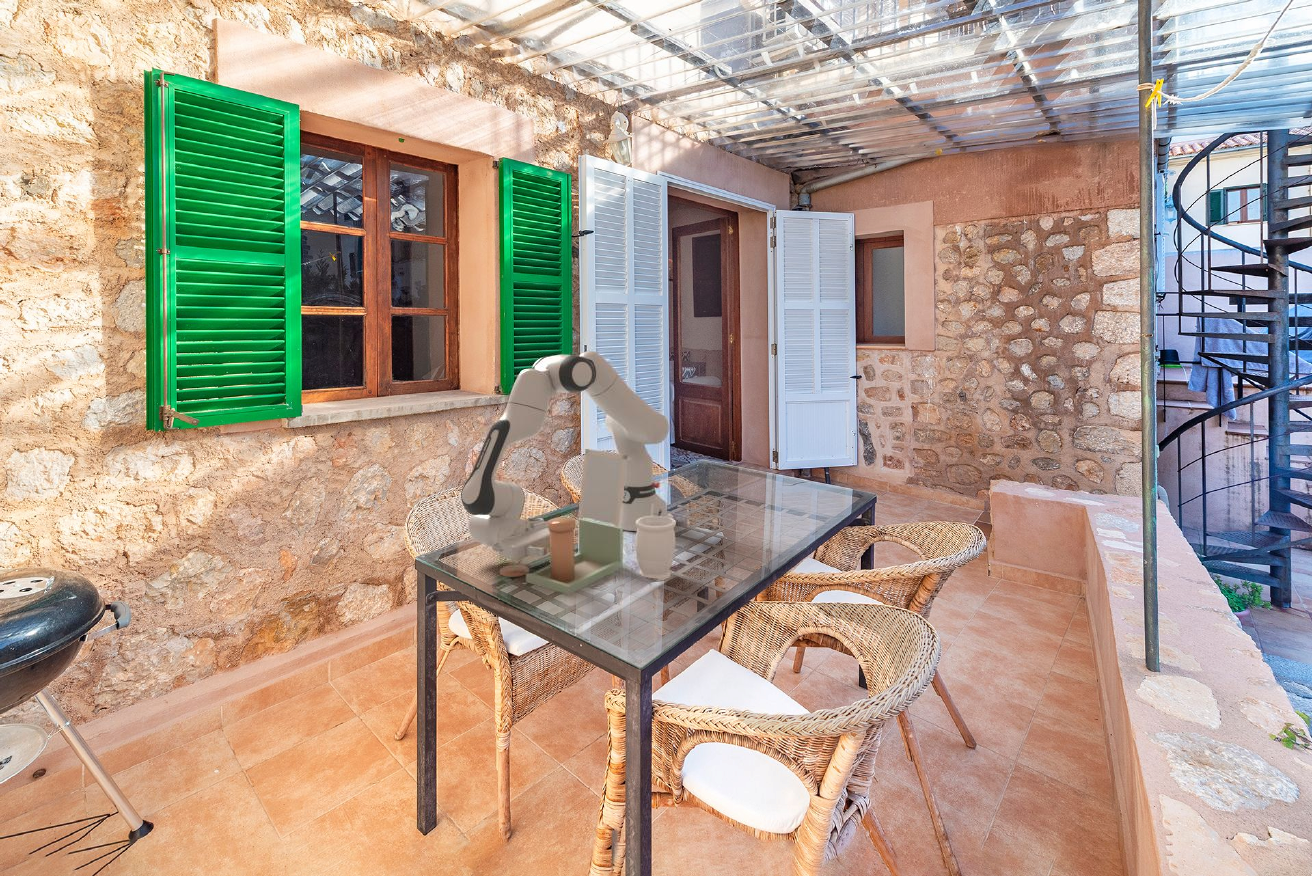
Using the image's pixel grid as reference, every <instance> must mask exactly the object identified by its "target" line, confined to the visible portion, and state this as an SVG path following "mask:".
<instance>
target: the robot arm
mask: <svg viewBox="0 0 1312 876" xmlns="http://www.w3.org/2000/svg"><path fill="white" fill-rule="evenodd" d="M584 391H585V393H587V395H588V396H589V397H590V398H591V400H592V401H593V402H594V403H595V404H596V406H597V407H598V408H599V410H601V411H602V412H603V413H604V414H605V415H606V417H605V422H604V424H605V427H606V430H607V431H608V432H609V434H610V435H611V437H612V441H613V443H614V446H615V450H616V453H617V454H624V455H628V457H627V466H626V475H625V484H624V493H623V502H622V511H621V520H620V527H622V528H623V531H630V532H633V531H634V532H637V529H638V527H637V526H636V520H637V519H639V518H641V517H645V516H665V517H670V518H672V519H674V515H672V514H671V513H668V512H667V510H668V509H667V502H666V501H665V500H664V498H661V496H659V495H658V494H657V493H656V489H660V486H661V484H660V482H658V481H657V482H656V481H653V480H654V478H653V475H654V473H653V472H654V470H653V469H654V468H653V467H654V462H653V458H652V456H651V455H650V454H649V452H648V450H647V447H646V445H658V444H661V443H663V442H664V440H665V439H666V438H667V436H668V434H669V430H670V424H669V421H668V419H667V417H666V416H665V415H664V414H662V413H660V412H658V411H657V410H655V409H654V408H653V407H652V406H650V404H649V403H647V401H645V400H643V399H642V397H640V396H639V395H638V394H637V393H635V392H634V391H633V389H631V388H630V386H628V384H627V383H626V382H625V381H624V380H623V378H622V377H621V376H620V374H619V373H618V372H617V371H616V370H615V368H614V367H613V366H612V365H611V364H610V363H609V362H608V361H607V360H606V359H605V358H604V357H603V356H602V355H600V354H599V353H598V352H596V351H593V350H587V351H585V352H582V353H581V354H578V355H577V354H557V355H556V354H555V355H545V356H543V357H540V358H539V359H537V360H536V361H535V362H534V364H533V365H532V367H531V368H526V369H523V370H521V371H520V373H518V375H517V377H516V379H515V382H514V384H513V386H512V389H511V392H510V394H509V398H508V402H507V405H506V406H505V407H506V408H505V410H504V412H503V414H502V415H501V417H500V419H498V420H495V422H494V423H493V424H492V425H491V427H490V428H489V431H488V432H487V435H486V437H485V440H484V443H483V445H482V447H481V449H480V451H479V453H478V456H477V459H476V462H475V464H474V466H473V469H472V471H471V473H470V475H469V476H468V478H467V480H466V481H465V483H464V485H462V486H463V487H462V489H461V494H460V500H461V503H462V506H463V508H464V509H465V511H466V512H467V513H468V514H469V515H472V516H471V517H470V518H469V521H468V525H467V526H468V533H469V534H470V536H471V538H472V539H473V540H475V541H476V542H478V543H479V544H482V545H485V546H488V547H491V548H492V550H493V551H494V552H498V553H499V555H500V556H502V557H503V558H506V559H508V560H511V561H518V560H521V559H525V558H526V557H528V556H540V557H543V556H545V555H547V554H548V553H547V552H548V551H547V549H549V548H550V531H549V530H548V521H545V520H544V518H541V517H537V518H528V519H522V518H521V516H522V514H523V510H524V506H525V502H526V495H525V493H524V490H523V489H522V487H521V486H520V485H519V484H517V483H513V482H508V481H503V480H497V479H495V476H496V474H497V471H498V469H499V466H500V464H501V461H502V459H503V456H504V454H505V452H506V451H507V449H508V448H509V447H510V446H511V445H514V444H515V443H518V442H522V441H523V442H524V441H527V440H530V439H533V438H535V437H536V436H537V435H538V434H539V433H541V431H542V429H543V427H544V424H545V421H546V417H547V413H548V410H549V406H550V401H551V398H552V397H553V396H554V394H555V393H557V394H569V393H573V394H577V393H581V392H584ZM655 488H656V489H655ZM674 520H675V519H674ZM612 525H613V526H615V524H612Z"/></svg>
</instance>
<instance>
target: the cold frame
mask: <svg viewBox="0 0 1312 876" xmlns="http://www.w3.org/2000/svg"><path fill="white" fill-rule="evenodd" d="M623 545H624V530H623V528H622V527H616V526H614V525H613V524H610V523H605V522H601V521H599V522H598V521H596V520H592V519H590V520H589V519H587V518H583V519H580V518H578V552H577V553H574V573H575V578H574V579H573V580H572V581H570V582H565V583H563V582H559V581H556V580H552V579H551V567H550V565H548V566H545V567H543V568H541V569H539V570H536V571H534V572H528V573H527V574H525V583H528V584H532V585H535V586H539V587H541V588H544V589H549V590H551V591H555V592H557V593H561V594H565V595H567V596H570V595H572V594H574V593H576V592H578V591H580V590H581V589H583V588H585V587H587V586H589V585H591V584H593V583H596V582H597V581H599V580H601V579H603V578H604V577H607V576H609V575H610V574H613V573H615V572H617V571H618V570H621V569H622V568H623V566H624V565H623V564H624V562H623V559H624V554H623V553H624V550H623V549H624V547H623Z"/></svg>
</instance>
